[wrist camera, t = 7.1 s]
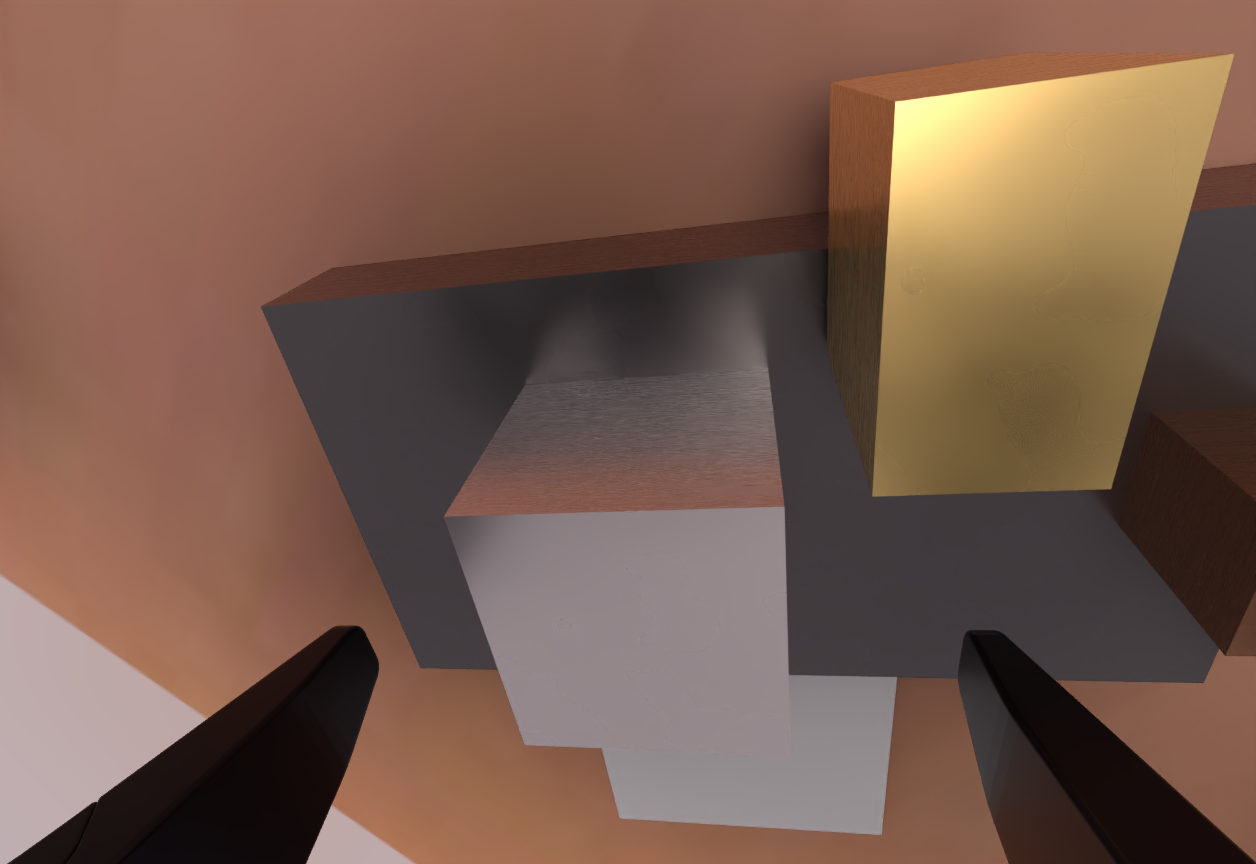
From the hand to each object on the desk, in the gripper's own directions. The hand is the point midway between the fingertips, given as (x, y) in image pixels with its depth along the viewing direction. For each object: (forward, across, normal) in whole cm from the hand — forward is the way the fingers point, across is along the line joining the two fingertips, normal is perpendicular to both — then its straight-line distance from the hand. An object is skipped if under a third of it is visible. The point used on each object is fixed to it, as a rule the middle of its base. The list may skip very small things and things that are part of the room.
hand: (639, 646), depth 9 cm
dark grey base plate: (+6, -2, 0) cm, 7 cm away
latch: (+4, -4, -5) cm, 7 cm away
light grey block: (+4, 0, 0) cm, 4 cm away
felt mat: (+6, -1, +11) cm, 13 cm away
